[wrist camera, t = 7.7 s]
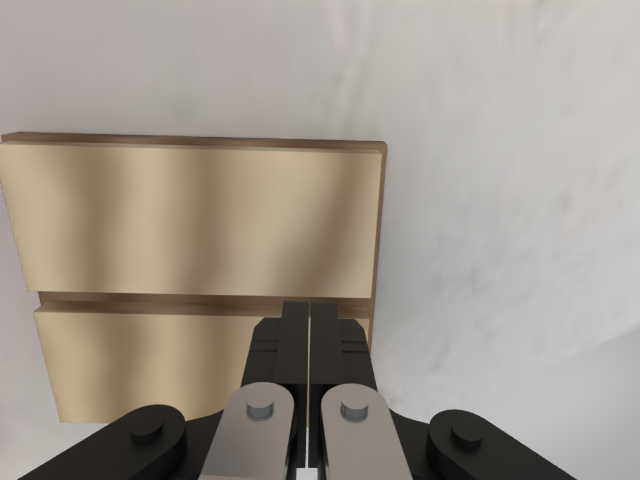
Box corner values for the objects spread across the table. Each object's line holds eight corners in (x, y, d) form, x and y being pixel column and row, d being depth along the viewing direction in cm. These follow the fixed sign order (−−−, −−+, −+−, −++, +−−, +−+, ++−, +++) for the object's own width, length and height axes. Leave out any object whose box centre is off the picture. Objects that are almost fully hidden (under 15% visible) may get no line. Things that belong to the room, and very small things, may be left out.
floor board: (77, 398, 32) (54, 428, 30) (18, 132, 25) (-20, 138, 22) (363, 403, 33) (367, 434, 30) (383, 141, 26) (391, 148, 23)
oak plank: (42, 280, 27) (27, 290, 26) (10, 140, 24) (-9, 144, 23) (368, 286, 27) (370, 298, 26) (378, 150, 24) (382, 154, 23)
